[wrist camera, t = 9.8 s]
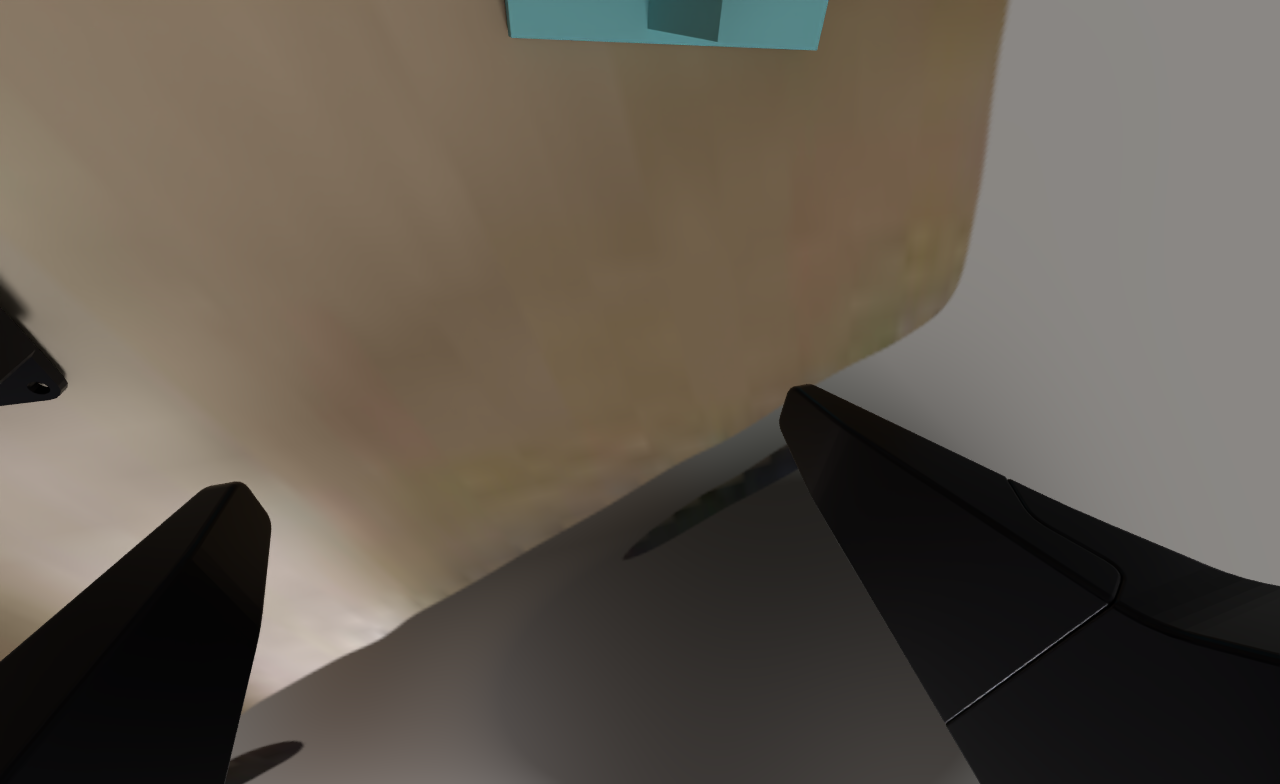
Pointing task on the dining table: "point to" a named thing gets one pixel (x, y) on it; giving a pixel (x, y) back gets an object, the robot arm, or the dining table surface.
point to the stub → (672, 21)
